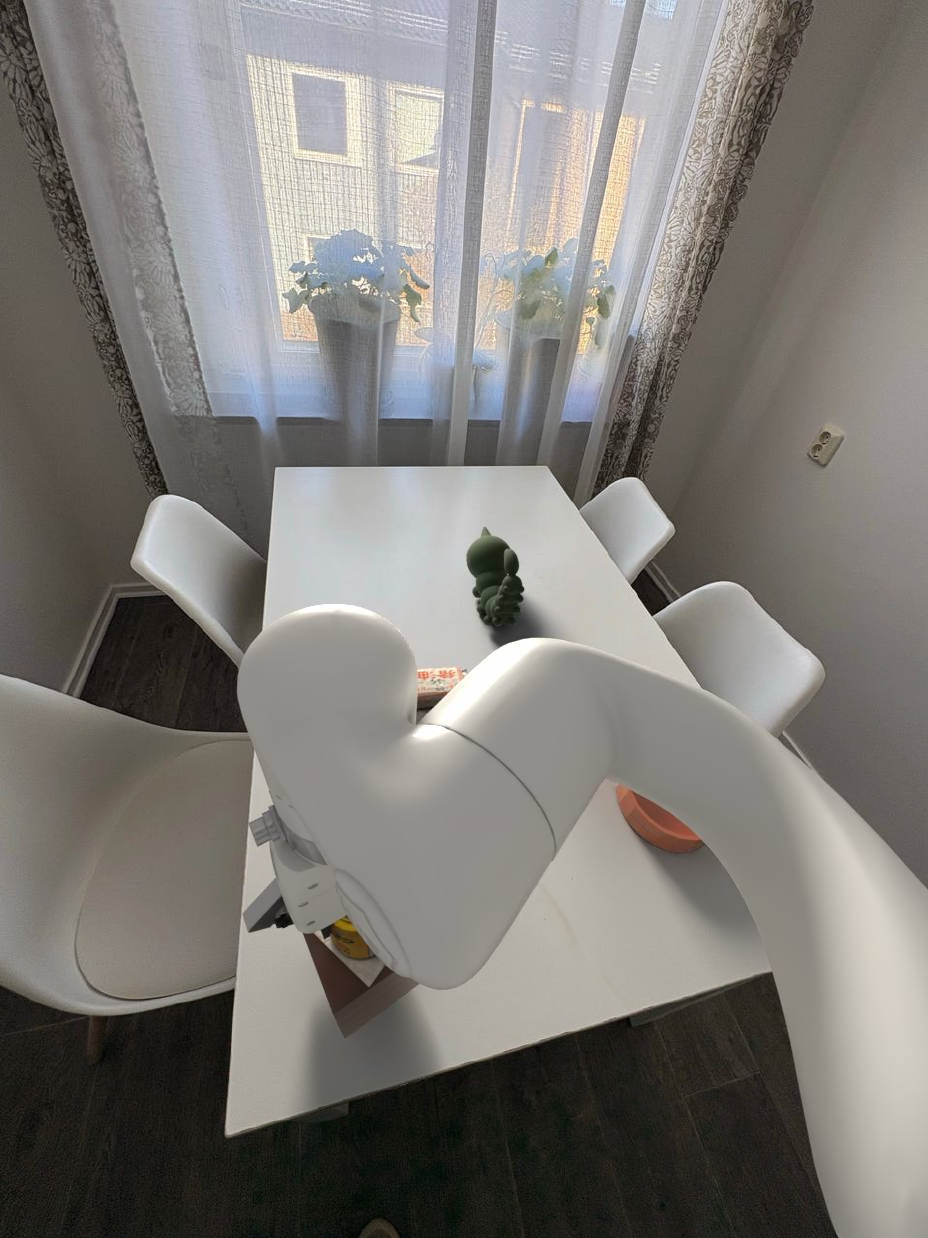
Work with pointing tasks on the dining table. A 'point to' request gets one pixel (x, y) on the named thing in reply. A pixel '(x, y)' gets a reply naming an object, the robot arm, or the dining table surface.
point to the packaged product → (435, 687)
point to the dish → (656, 823)
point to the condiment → (352, 950)
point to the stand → (354, 988)
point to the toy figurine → (495, 579)
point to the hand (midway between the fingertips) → (359, 894)
